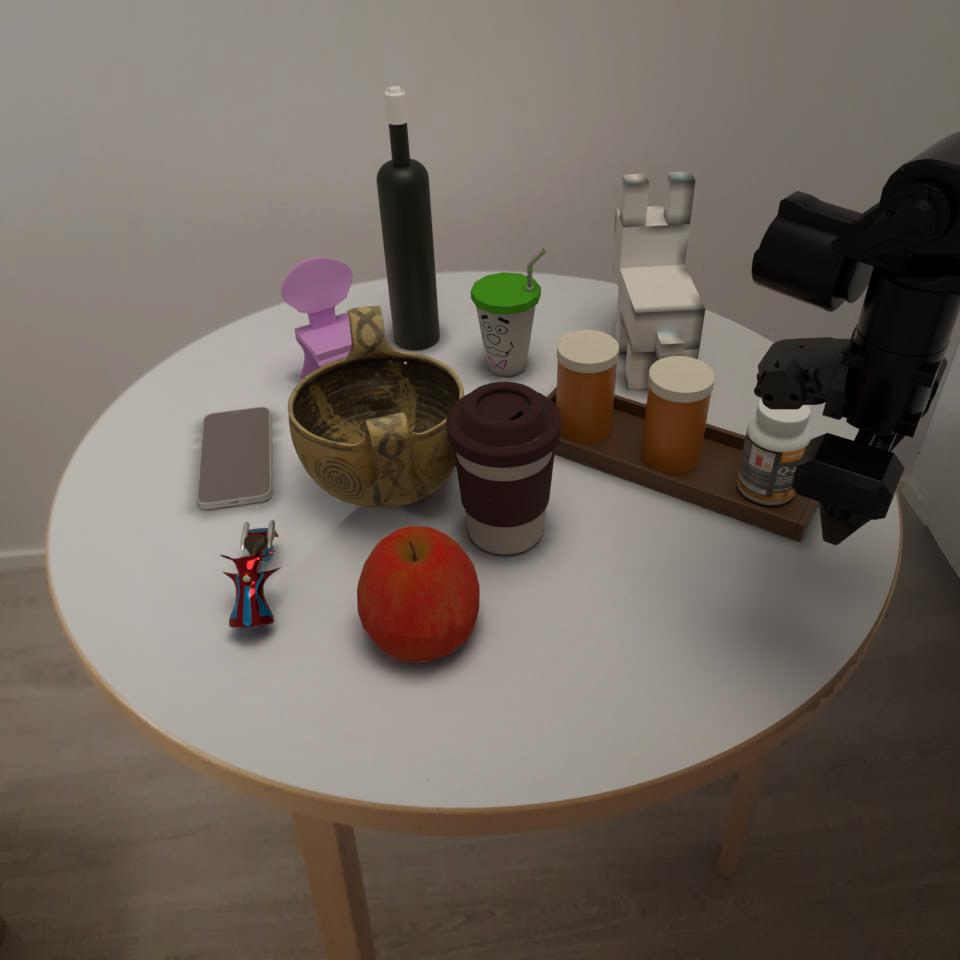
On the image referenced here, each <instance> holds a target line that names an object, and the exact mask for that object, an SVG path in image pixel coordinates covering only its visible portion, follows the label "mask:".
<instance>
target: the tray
mask: <svg viewBox="0 0 960 960" xmlns="http://www.w3.org/2000/svg"><path fill="white" fill-rule="evenodd" d="M556 396H557V386H555V388H554V389H553V390H552V391H551V392H550V393H548V395H547V396H546V397H547V398H549V399H550V400H551V401H552V402H553V403H554V404H555V405H556ZM646 405H647V403H643V402H639V401H637V400H633V399H631V398H627V397H624V396H622V395H617V394H615V393H614V405H613V417H612V429H611V432H610V434H609V435H608V436H607V437H606V438H605V439H603V440H601V441H599V442H595V443H590V444H580V443H576V442H573V441H570V440H567V439H564V438H563V437H561V436H560V439H559V442H558V444H557V445H556V447H555V448H554V451H555V455H557V456H560V457H562V458H565V459H567V460H571V461H574V462H575V463H578V464H582V465H585V466H588V467H591V468H593V469H595V470H598V471H601V472H604V473H607V474H610V475H613V476H616V477H619V478H621V479H624V480H627V481H629V482H633V483H635V484H638V485H641V486H644V487H646V488H650V489H652V490H655V491H658V492H661V493H663V494H666V495H669V496H672V497H675V498H678V499H680V500H683V501H686V502H688V503H692V504H695V505H697V506H701V507H703V508H706V509H708V510H711V511H714V512H717V513H720V514H723V515H726V516H728V517H731V518H734V519H736V520H739V521H742V522H745V523H747V524H751V525H754V526H756V527H760V528H762V529H765V530H766V531H767V530H768V531H770V532H772V533H773V532H774V533H776V534H779V535H782V536H784V537H787V538H790V539H792V540H795V541H799V542H801V541H802V539H803V537H804V536H805V535H804V534H805V533H806V531H807V528H808V527H809V525H810V522H811V521H812V519H813V517H814V514H815V513H816V511H817V509H818V508H819V502H818V501H815V500H812V499H809V498H806V497H803V496H800V495H797V494H795V495H794V497H793V498H792V499H791V500H790V501H788V502H786V503H784V504H780V505H763V504H759V503H756V502H753V501H751V500H750V499H748V498H747V497H745V496H744V495H743V494H742V493H741V492H740V490H739V488H738V485H737V478H738V471H739V467H740V462H741V457H742V452H743V447H744V442H745V437H746V434H745V435H744V434H742V433H738V432H735V431H732V430H729V429H725V428H723V427H719V426H716V425H713V424H709V423H707V422H706V428H705V434H704V440H703V446H702V452H701V458H700V462H699V464H698V465H697V467H696V468H694V469H693V470H691V471H689V472H687V473H683V474H665V473H662V472H659V471H657V470H654V469H652V468H650V467H649V466H647V465H646V464H645V462H644V461H643V459H642V456H641V449H642V440H643V431H644V423H645V414H646Z"/></svg>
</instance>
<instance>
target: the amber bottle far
mask: <svg viewBox="0 0 960 960" xmlns="http://www.w3.org/2000/svg"><path fill="white" fill-rule="evenodd" d="M619 355H620V354H619V344H618V342H617V341H616V340H615V337H613V336H612V335H610V334H608V333H606V332H604V331H599V330H593V329H579V330H574V331H571V332H568V333H566V334H564V335H563V336H561V338H560V339H558V341H557V344H556V358H557V362H556V363H557V365H556V366H557V367H556V368H557V369H556V387H557V396H556V406H557V408H558V410H559V412H560V415H561V437H563V438H564V439H567V440H570V441H573V442H576V443H580V444H590V443H595V442H599V441H601V440H603V439H605V438H606V437H607V436H608V435H609V434H610V432H611V429H612V417H613V405H614V394H615V393H616V392H615V391H616V378H617V368H618V367H617V366H618V361H619Z"/></svg>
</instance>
